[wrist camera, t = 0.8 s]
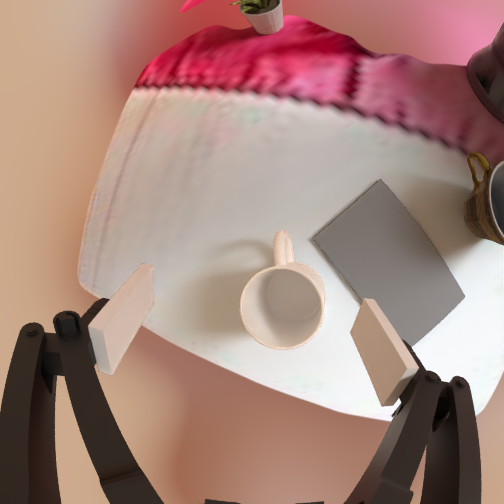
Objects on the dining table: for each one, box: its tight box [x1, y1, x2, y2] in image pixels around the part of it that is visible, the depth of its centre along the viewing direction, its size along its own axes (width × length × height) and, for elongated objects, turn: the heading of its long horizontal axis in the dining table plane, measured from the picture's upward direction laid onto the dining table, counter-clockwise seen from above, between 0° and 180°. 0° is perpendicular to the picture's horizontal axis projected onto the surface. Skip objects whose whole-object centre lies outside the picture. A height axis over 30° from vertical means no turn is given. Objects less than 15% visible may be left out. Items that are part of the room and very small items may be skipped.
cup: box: [239, 230, 326, 350], centre depth 31 cm, size 8×12×10 cm
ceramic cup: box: [464, 152, 504, 245], centre depth 23 cm, size 13×10×10 cm
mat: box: [313, 179, 465, 347], centre depth 31 cm, size 20×12×1 cm, turn 40°
